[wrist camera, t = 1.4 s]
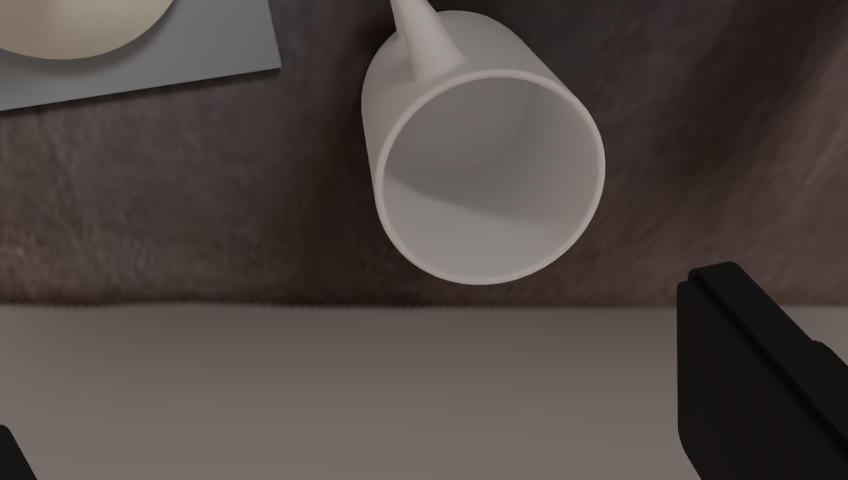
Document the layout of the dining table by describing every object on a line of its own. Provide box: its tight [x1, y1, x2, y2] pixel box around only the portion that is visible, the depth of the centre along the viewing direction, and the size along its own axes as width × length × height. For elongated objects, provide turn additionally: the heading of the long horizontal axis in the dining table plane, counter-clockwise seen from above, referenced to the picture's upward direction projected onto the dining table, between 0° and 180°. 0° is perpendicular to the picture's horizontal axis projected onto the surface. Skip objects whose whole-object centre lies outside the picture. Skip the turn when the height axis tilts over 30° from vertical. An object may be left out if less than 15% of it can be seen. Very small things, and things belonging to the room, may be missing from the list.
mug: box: [361, 0, 605, 285], centre depth 33 cm, size 9×12×11 cm
